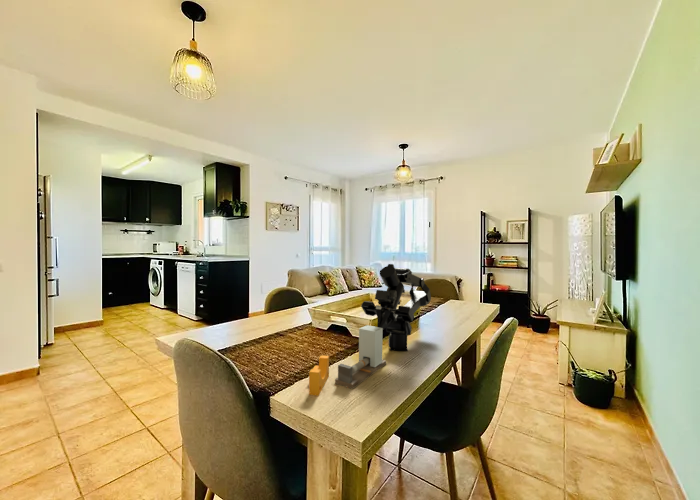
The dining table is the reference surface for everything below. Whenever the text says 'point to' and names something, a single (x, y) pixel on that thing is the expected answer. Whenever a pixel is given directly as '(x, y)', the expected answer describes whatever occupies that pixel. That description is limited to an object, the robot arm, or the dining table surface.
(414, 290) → the robot arm
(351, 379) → the pipe rig
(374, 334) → the sleeve
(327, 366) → the pipe clamp
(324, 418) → the dining table surface
